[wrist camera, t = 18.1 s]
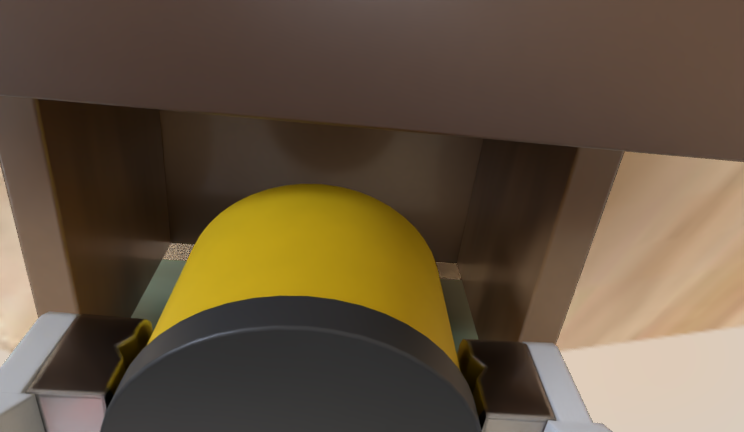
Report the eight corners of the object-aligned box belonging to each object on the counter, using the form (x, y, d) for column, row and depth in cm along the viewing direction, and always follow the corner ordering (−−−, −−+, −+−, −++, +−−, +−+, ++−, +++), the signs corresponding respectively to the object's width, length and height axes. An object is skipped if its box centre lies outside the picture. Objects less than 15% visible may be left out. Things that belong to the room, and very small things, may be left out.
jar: (171, 164, 9) (66, 313, 6) (467, 189, 9) (526, 342, 6) (189, 381, 12) (122, 572, 8) (424, 394, 12) (449, 582, 9)
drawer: (456, 404, 21) (495, 597, 15) (153, 388, 20) (70, 587, 14) (602, -165, 12) (830, -226, 6) (74, -235, 11) (-223, -382, 6)
